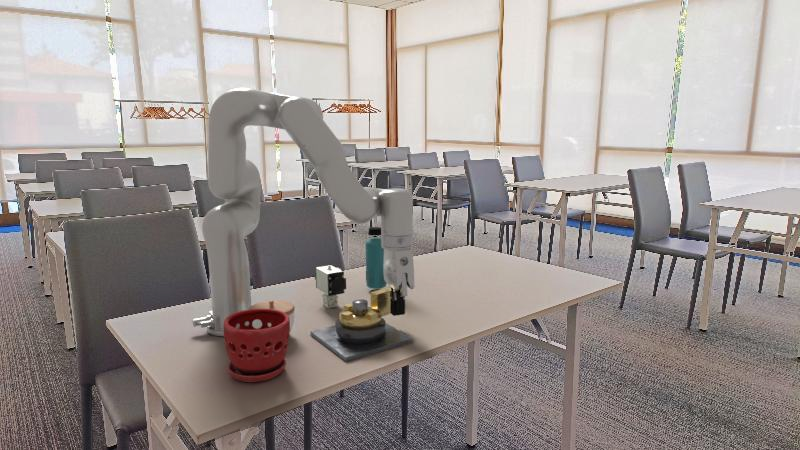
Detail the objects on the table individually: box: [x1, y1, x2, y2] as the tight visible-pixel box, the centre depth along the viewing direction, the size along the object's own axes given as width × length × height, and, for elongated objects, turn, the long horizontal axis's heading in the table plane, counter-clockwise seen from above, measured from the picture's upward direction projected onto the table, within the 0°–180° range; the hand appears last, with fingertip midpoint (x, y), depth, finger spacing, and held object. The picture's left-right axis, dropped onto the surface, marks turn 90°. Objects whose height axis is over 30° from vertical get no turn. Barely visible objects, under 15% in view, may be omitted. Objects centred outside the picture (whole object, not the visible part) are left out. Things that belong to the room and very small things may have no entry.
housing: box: [310, 317, 414, 362], centre depth 125 cm, size 18×18×4 cm
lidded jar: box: [249, 299, 295, 332], centre depth 126 cm, size 11×11×9 cm
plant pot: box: [223, 309, 291, 383], centre depth 107 cm, size 13×13×12 cm
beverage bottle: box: [364, 226, 387, 290], centre depth 161 cm, size 6×7×20 cm
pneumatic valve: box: [314, 264, 347, 310], centre depth 147 cm, size 6×12×12 cm, turn 32°
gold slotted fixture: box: [338, 286, 392, 330], centre depth 126 cm, size 17×10×6 cm, turn 135°
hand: (397, 313), depth 127 cm, fingers closed
